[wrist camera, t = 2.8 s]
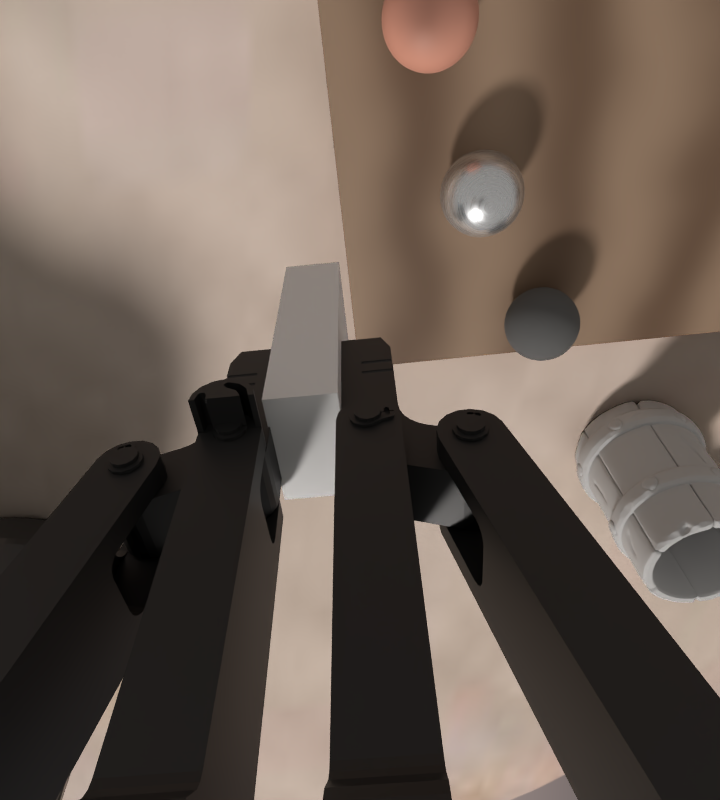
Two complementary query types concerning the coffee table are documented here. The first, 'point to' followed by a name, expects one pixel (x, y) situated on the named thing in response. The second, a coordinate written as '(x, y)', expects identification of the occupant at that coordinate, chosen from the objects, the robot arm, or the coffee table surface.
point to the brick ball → (429, 32)
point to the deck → (533, 171)
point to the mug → (656, 496)
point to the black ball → (542, 323)
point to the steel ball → (482, 193)
